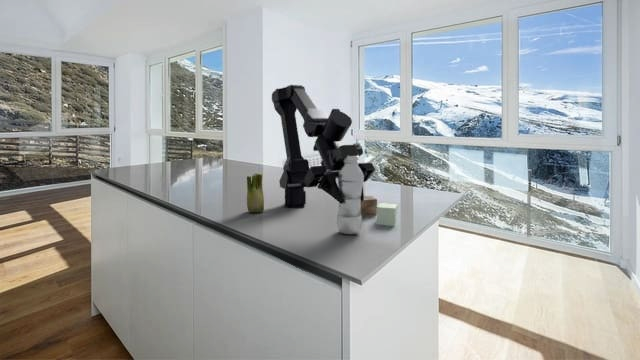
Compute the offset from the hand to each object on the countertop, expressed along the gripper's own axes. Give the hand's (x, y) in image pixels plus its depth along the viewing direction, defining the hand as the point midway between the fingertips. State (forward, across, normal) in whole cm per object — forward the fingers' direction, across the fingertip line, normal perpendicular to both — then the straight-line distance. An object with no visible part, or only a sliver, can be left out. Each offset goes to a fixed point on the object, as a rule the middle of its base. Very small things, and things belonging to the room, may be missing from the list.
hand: (352, 201), depth 91 cm
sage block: (+3, +15, +9) cm, 18 cm away
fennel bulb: (-17, -14, +29) cm, 36 cm away
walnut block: (-5, +15, +17) cm, 23 cm away
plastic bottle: (+5, 0, +7) cm, 9 cm away
